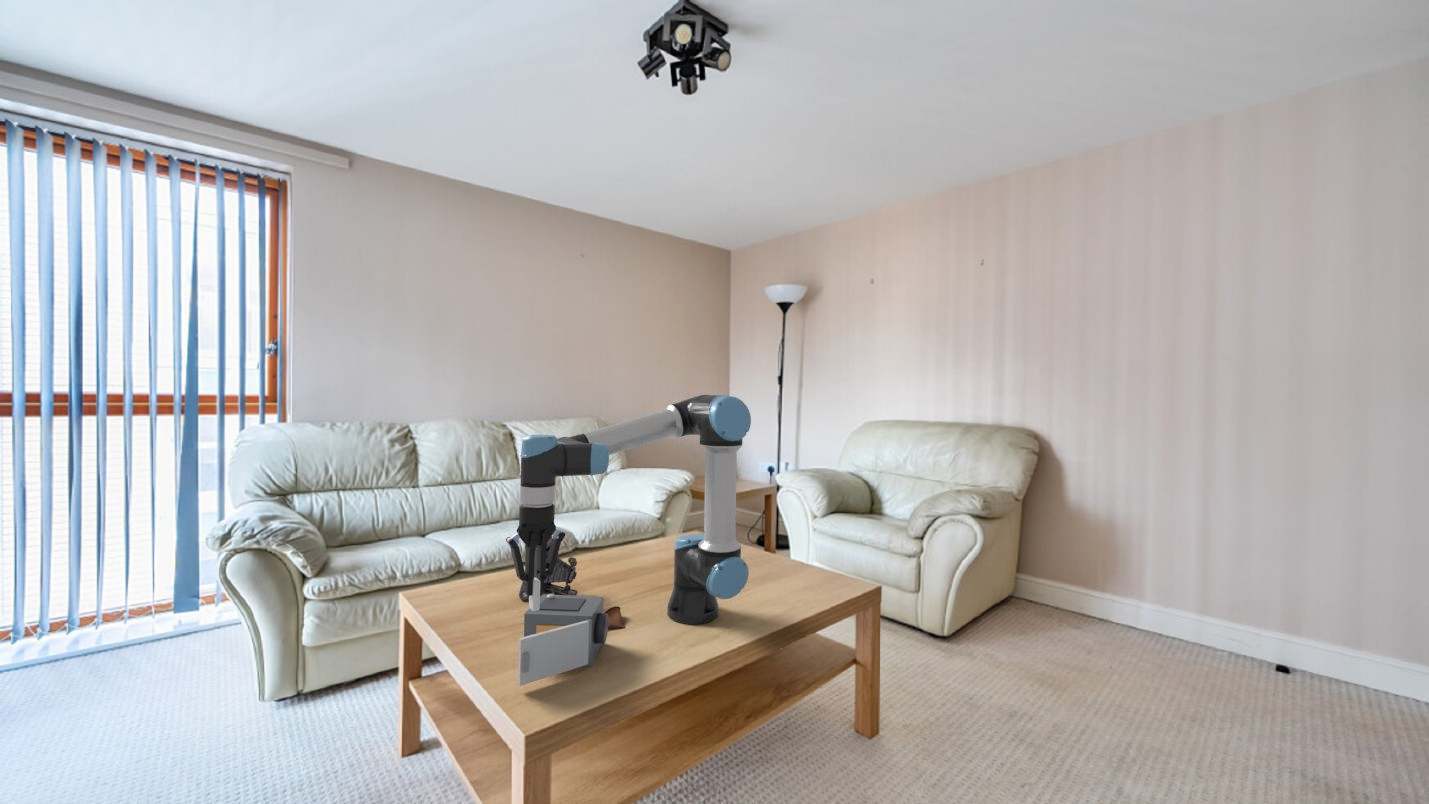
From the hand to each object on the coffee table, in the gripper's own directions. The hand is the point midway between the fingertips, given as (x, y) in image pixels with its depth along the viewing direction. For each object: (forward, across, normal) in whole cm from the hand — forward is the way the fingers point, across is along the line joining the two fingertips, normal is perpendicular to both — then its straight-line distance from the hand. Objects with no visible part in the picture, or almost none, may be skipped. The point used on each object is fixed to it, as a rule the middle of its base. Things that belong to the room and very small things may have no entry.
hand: (534, 608), depth 119 cm
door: (+14, -4, +4) cm, 16 cm away
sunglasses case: (+16, -22, -17) cm, 33 cm away
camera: (+16, -22, -45) cm, 52 cm away
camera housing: (+16, -11, -6) cm, 20 cm away
